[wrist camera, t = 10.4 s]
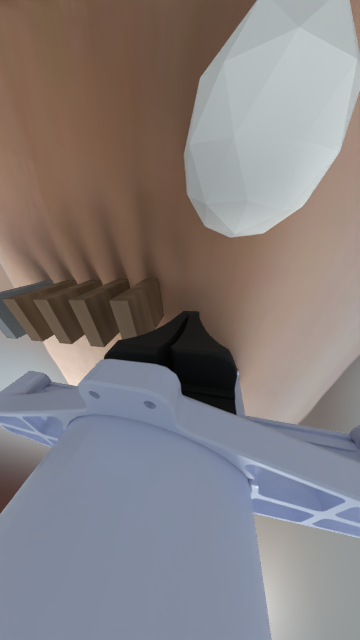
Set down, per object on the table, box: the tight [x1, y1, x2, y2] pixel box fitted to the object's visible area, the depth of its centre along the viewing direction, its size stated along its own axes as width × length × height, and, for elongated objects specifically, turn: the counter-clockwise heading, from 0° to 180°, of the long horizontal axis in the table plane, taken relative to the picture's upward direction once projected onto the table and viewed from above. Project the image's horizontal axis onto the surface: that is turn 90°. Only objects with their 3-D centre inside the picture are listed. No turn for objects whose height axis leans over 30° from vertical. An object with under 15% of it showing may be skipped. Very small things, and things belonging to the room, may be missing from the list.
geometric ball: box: [184, 0, 360, 238], centre depth 8 cm, size 8×8×8 cm
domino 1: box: [0, 281, 54, 339], centre depth 18 cm, size 2×5×7 cm, turn 4°
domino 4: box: [68, 279, 130, 347], centre depth 16 cm, size 2×5×7 cm, turn 4°
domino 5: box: [110, 279, 164, 340], centre depth 15 cm, size 2×5×7 cm, turn 4°
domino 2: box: [2, 281, 77, 341], centre depth 18 cm, size 2×5×7 cm, turn 4°
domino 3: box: [33, 280, 102, 344], centre depth 17 cm, size 2×5×7 cm, turn 4°
